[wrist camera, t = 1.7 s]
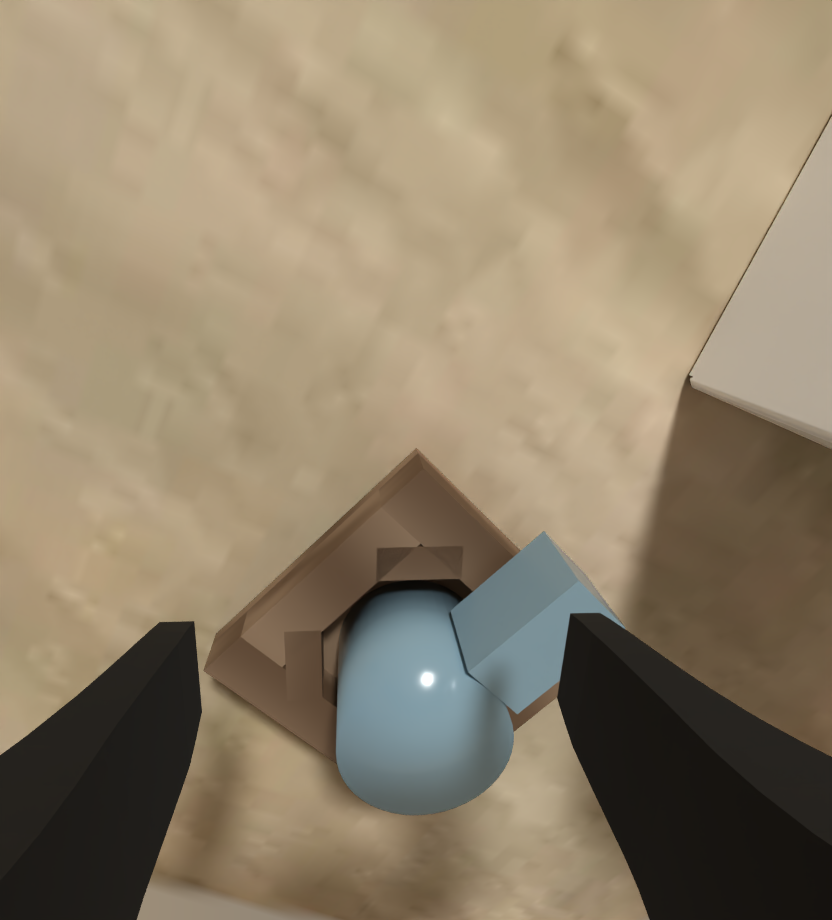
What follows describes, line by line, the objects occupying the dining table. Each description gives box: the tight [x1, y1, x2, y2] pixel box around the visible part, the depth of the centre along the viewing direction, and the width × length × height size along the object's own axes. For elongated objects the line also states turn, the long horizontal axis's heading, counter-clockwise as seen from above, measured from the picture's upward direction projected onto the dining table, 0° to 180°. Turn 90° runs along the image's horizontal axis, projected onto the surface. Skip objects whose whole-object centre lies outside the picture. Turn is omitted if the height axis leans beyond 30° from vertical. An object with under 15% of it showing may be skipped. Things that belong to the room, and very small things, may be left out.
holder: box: [204, 448, 560, 764], centre depth 21 cm, size 10×10×2 cm
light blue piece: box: [336, 531, 625, 815], centre depth 19 cm, size 9×5×5 cm, turn 133°
